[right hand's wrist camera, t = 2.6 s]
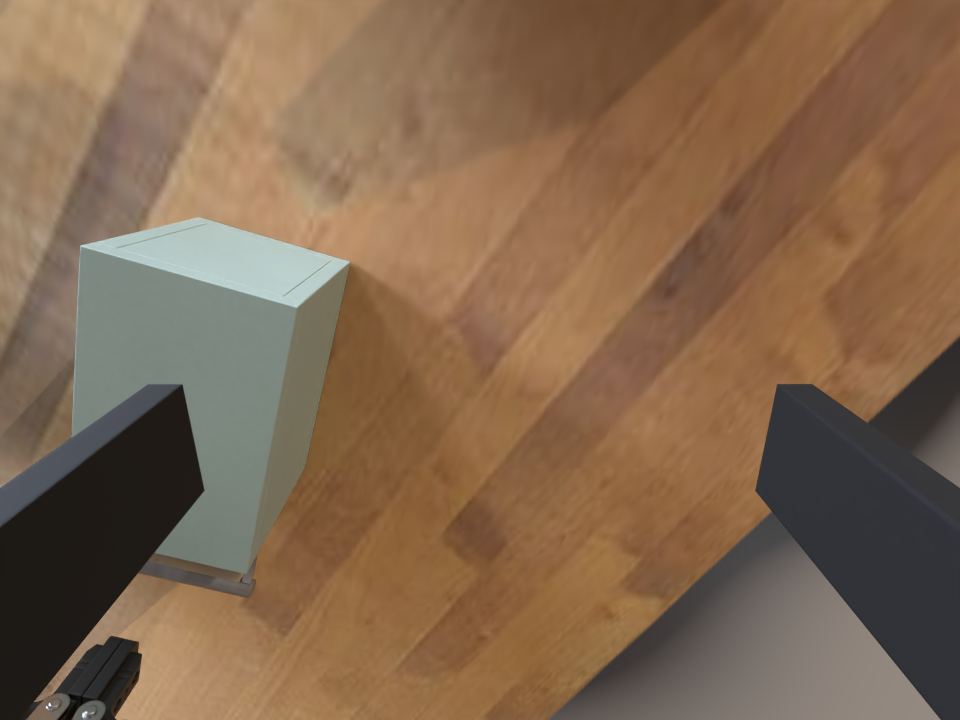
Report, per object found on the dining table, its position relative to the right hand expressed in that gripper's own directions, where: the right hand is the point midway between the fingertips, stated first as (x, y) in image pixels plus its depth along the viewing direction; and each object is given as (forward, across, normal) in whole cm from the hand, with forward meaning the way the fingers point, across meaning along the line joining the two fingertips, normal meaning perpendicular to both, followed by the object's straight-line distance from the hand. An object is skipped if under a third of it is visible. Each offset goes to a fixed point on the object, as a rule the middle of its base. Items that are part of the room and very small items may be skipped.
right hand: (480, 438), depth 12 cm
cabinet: (+26, -16, -8) cm, 32 cm away
